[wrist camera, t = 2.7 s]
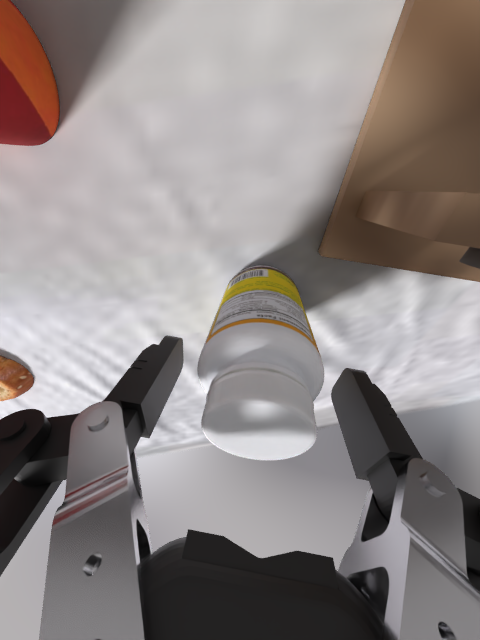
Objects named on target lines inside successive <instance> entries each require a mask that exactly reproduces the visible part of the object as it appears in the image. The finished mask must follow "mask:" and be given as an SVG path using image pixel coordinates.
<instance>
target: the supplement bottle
mask: <svg viewBox="0 0 480 640" xmlns="http://www.w3.org/2000/svg"><path fill="white" fill-rule="evenodd" d="M198 377H199V381H200V384H201V386H202V388H203V390H204V392H205V393H206V394H207V397H206V405H205V409H204V412H203V416H202V422H201V425H202V430H203V432H204V434H205V436H206V437H207V439H208V440H209V441H210V442H211V443H212V444H214V445H215V446H217V447H218V448H220V449H222V450H223V451H226V452H228V453H230V454H233V455H236V456H240V457H244V458H249V459H256V460H280V459H287V458H291V457H295V456H297V455H300V454H302V453H304V452H305V451H307V450H308V449H310V448H311V447H312V445H313V444H314V443H315V441H316V437H317V427H316V422H315V416H314V410H313V409H314V404H313V401H314V400H315V399H316V397H317V396H318V394H319V393H320V391H321V388H322V386H323V382H324V367H323V363H322V360H321V356H320V353H319V351H318V348H317V345H316V342H315V339H314V336H313V333H312V330H311V327H310V325H309V322H308V319H307V316H306V313H305V310H304V307H303V304H302V301H301V298H300V295H299V292H298V289H297V287H296V285H295V284H294V282H293V281H292V279H291V278H290V277H289V276H288V275H287V274H285V273H284V272H283V271H281V270H279V269H277V268H274V267H270V266H253V267H249V268H246V269H244V270H242V271H241V272H239V273H238V274H236V275H235V276H234V277H233V278H232V279H231V281H230V282H229V284H228V286H227V288H226V290H225V293H224V295H223V298H222V300H221V303H220V305H219V308H218V311H217V313H216V316H215V318H214V321H213V324H212V326H211V329H210V331H209V334H208V337H207V339H206V342H205V344H204V347H203V349H202V352H201V355H200V358H199V361H198Z"/></svg>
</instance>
